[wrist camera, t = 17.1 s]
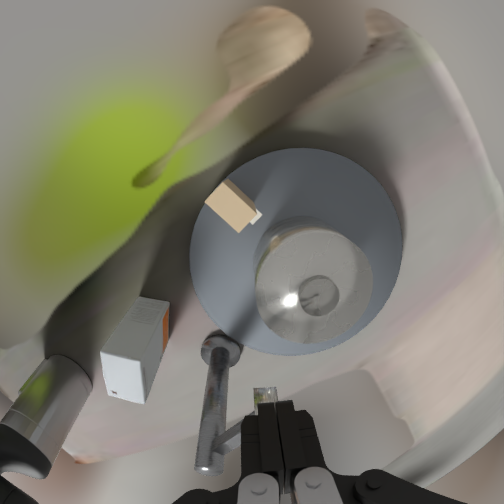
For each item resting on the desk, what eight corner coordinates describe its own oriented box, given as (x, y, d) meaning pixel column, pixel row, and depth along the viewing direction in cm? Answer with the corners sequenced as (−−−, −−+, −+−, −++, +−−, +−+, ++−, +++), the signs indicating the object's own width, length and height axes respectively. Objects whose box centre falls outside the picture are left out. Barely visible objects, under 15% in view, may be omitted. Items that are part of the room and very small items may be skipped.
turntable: (293, 375, 36) (304, 422, 28) (150, 262, 31) (121, 295, 23) (425, 254, 32) (466, 279, 24) (300, 103, 27) (321, 81, 18)
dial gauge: (204, 365, 36) (185, 481, 18) (193, 299, 33) (154, 417, 16) (265, 363, 36) (278, 481, 19) (263, 296, 33) (280, 418, 16)
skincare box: (169, 340, 35) (145, 406, 23) (139, 334, 34) (106, 396, 23) (171, 300, 33) (141, 361, 22) (138, 294, 33) (97, 350, 21)
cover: (300, 321, 32) (315, 367, 24) (233, 267, 30) (229, 305, 22) (362, 258, 30) (398, 289, 22) (299, 195, 28) (321, 207, 20)
